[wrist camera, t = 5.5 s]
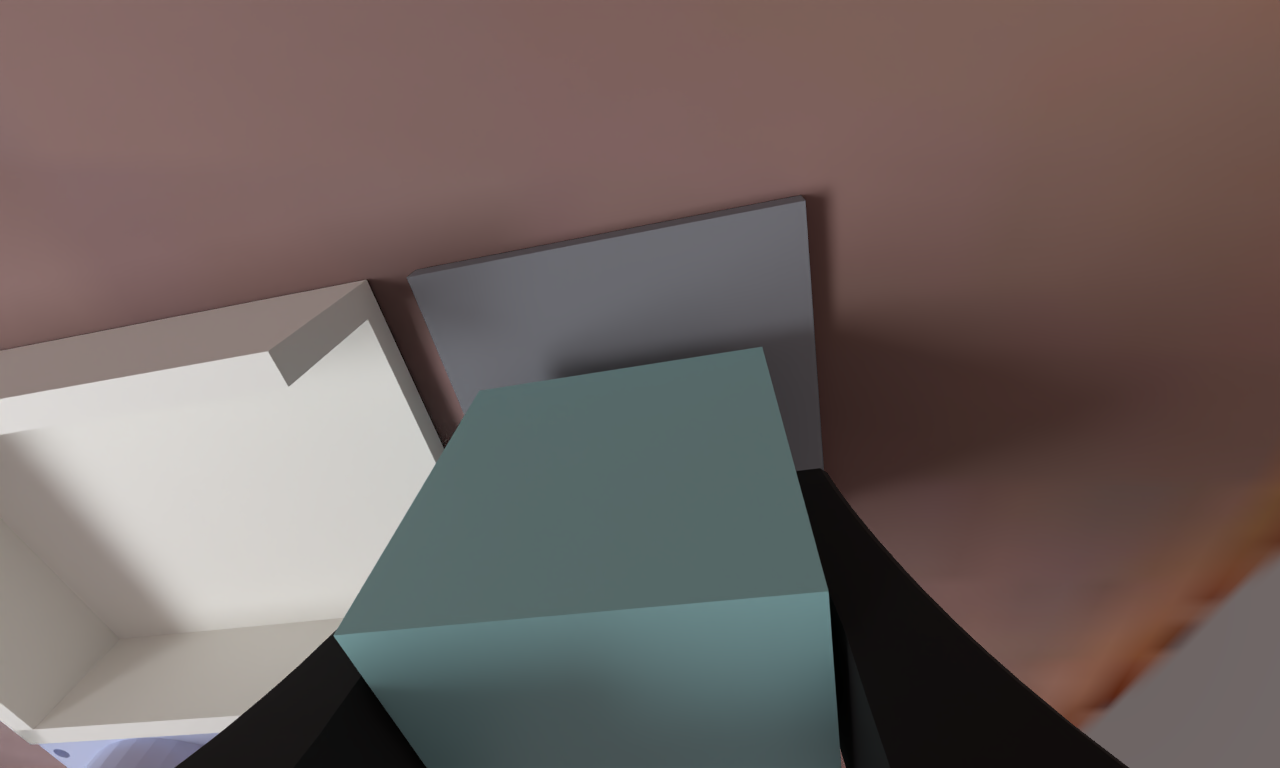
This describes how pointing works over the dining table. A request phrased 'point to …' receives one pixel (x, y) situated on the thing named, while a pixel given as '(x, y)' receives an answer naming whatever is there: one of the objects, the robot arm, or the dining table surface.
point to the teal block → (608, 582)
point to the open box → (194, 508)
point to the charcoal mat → (638, 307)
